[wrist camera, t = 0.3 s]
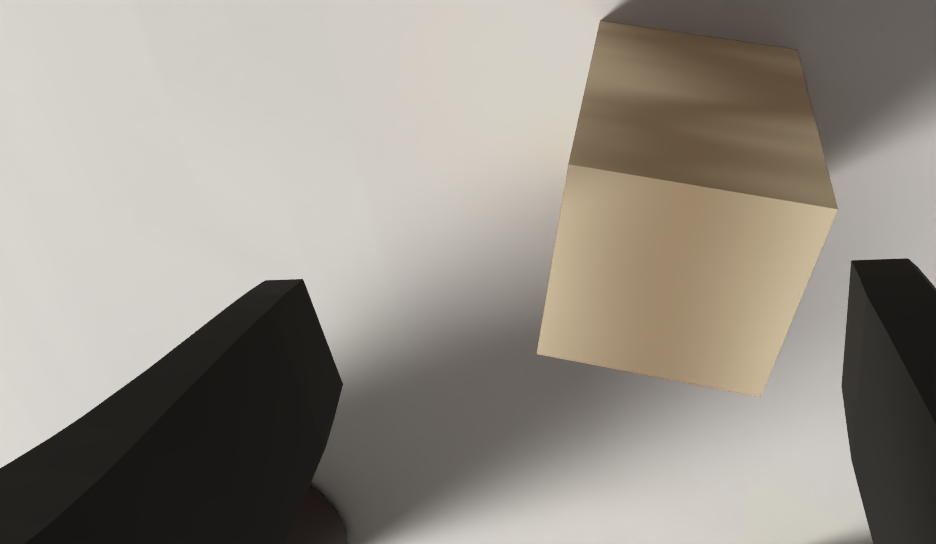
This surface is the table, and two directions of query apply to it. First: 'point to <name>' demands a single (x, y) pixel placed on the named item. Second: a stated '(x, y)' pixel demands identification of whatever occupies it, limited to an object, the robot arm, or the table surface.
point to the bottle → (316, 522)
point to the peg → (687, 210)
